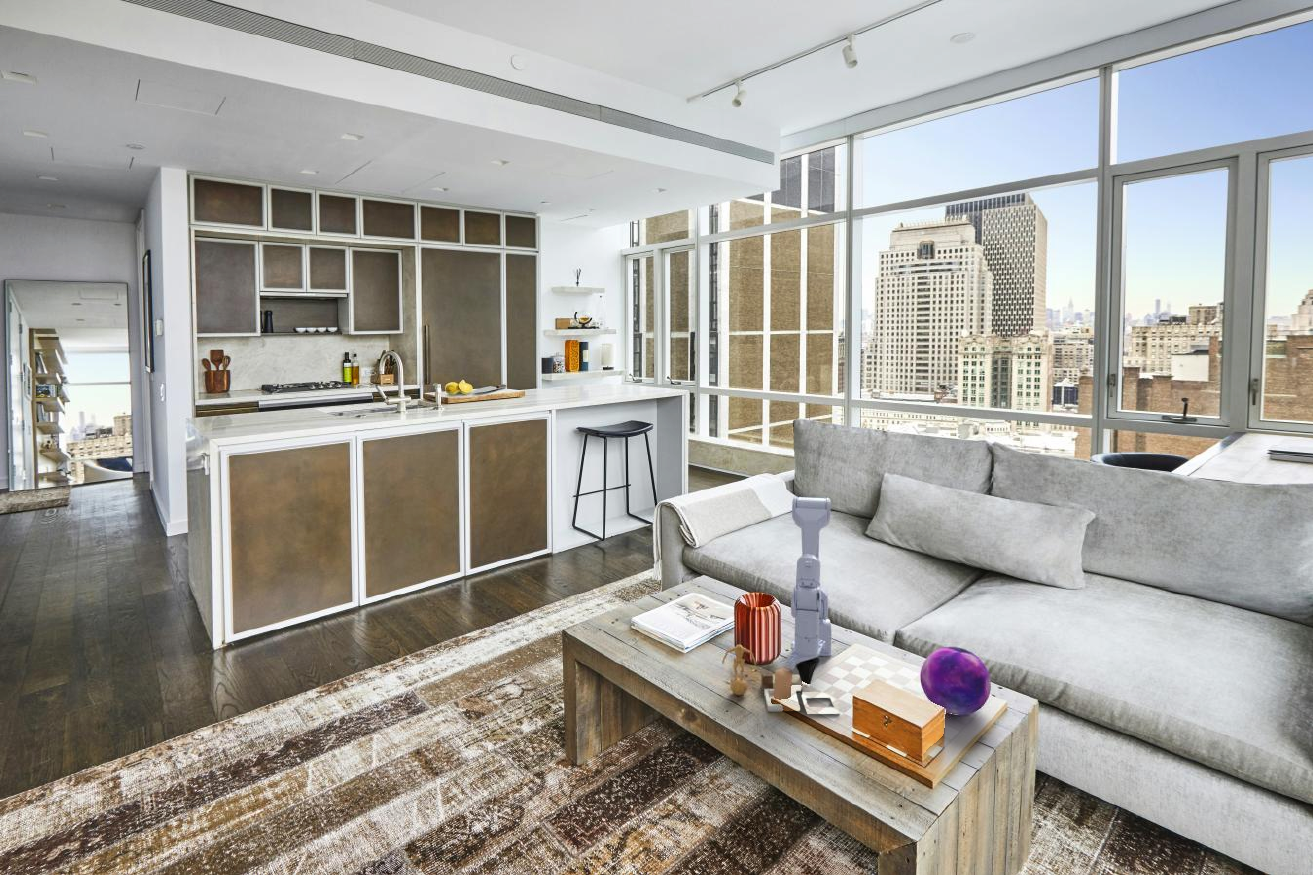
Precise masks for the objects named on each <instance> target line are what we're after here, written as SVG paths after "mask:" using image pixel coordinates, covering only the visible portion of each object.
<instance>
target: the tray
mask: <svg viewBox="0 0 1313 875" xmlns="http://www.w3.org/2000/svg"><path fill="white" fill-rule="evenodd" d="M763 695H764V700H765V704H766V708H767V712H768V713H769V712H770V713H772V712H773V713H782V711H783V708H782V707H783V706H782V705H781V704H772V703H771V698H772V697H773V696H774V689H764V691H763Z"/></svg>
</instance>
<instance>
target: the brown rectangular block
mask: <svg viewBox="0 0 1313 875" xmlns="http://www.w3.org/2000/svg"><path fill="white" fill-rule="evenodd" d="M773 675H774V673H773V672H772V670H761V684H760V685H761V689H762V692H764V689H773Z"/></svg>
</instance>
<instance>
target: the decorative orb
mask: <svg viewBox="0 0 1313 875" xmlns="http://www.w3.org/2000/svg"><path fill="white" fill-rule="evenodd" d="M990 676H991V675H990V673H989V671H988V668H987V667H986V664H984V662H983V661H982V660H981V659H980V658H979V657H978V656H977V655H976V654H974V653H973V652H971V651H969V650H967V649H965V648H961V647H957V646H946V647H941V648H938V649H936V650H934V651H932V653H930V654H929V655H928V656H927V657H926V659H925V660H924V661H923V664H922V666H921V670H920V684H921V688H922V690H923V693H924V695H925V697H926V698H927V699H928V700H930V701H931V702H933V703H935V704H937V705H940V706H942V707H944V708H945V709H946V712H948V713H952V714H958V715H957V716H968V715H972V714H974V713H976V712H977V711H980V709H982V708H983V707H984V705H985V704H986V703H987V702H988V700H989V699H990V698H989V697H990V694H991V690H992V683H991V682H992V681H991V677H990ZM930 701H929V702H930ZM931 702H930V703H931ZM946 712H945V713H946ZM948 713H947V714H948ZM952 714H951V715H952ZM967 714H968V715H967Z"/></svg>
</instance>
